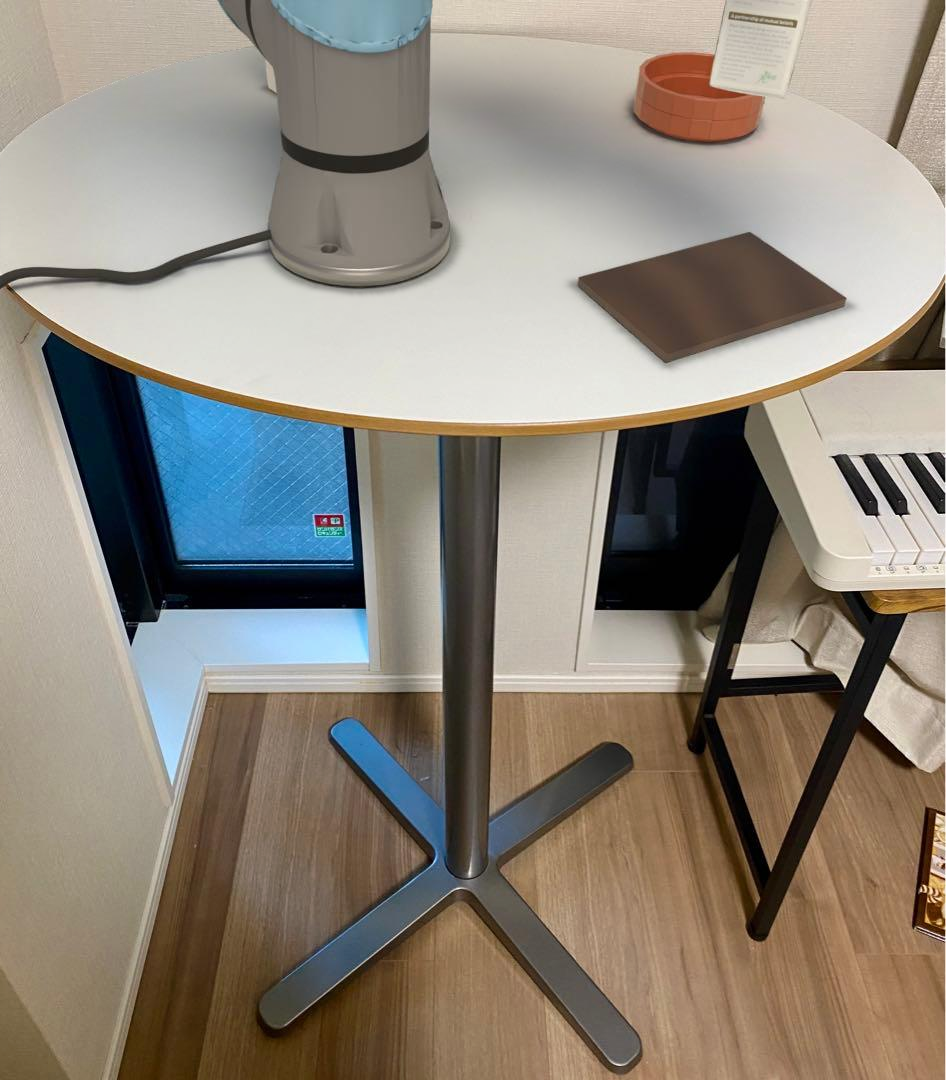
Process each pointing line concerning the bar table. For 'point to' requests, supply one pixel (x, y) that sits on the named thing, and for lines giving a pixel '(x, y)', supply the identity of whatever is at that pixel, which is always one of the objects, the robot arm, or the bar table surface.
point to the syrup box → (759, 46)
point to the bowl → (692, 100)
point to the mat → (709, 295)
